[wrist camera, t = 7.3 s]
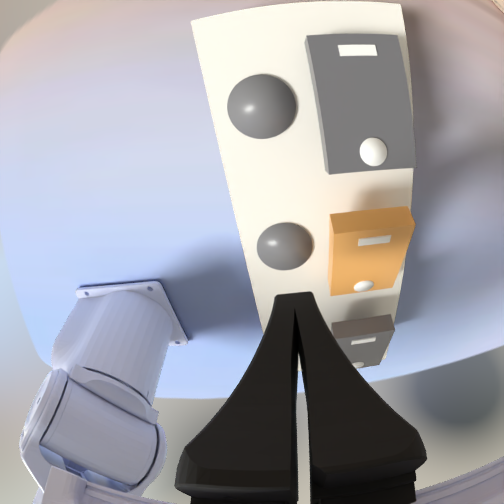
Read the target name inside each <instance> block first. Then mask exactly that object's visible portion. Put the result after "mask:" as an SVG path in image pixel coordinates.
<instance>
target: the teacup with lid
mask: <svg viewBox="0 0 504 504" xmlns="http://www.w3.org/2000/svg"><path fill="white" fill-rule="evenodd" d="M492 1H493V3H494V4H495V5H496V6H497V7H498V8H499V9H500V10H501V11H502V12H503V13H504V0H492Z"/></svg>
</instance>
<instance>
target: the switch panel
mask: <svg viewBox="0 0 504 504" xmlns="http://www.w3.org/2000/svg"><path fill="white" fill-rule="evenodd" d="M191 25H192V29H193V34H194V38H195V43H196V48H197V52H198V56H199V61H200V65H201V70H202V74H203V79H204V83H205V88H206V92H207V97H208V101H209V105H210V110H211V114H212V118H213V123H214V127H215V132H216V136H217V140H218V145H219V149H220V153H221V158H222V162H223V166H224V171H225V175H226V179H227V183H228V188H229V192H230V196H231V201H232V205H233V209H234V213H235V218H236V222H237V226H238V230H239V235H240V239H241V243H242V247H243V251H244V256H245V260H246V264H247V268H248V272H249V277H250V281H251V285H252V289H253V293H254V297H255V301H256V306H257V310H258V314H259V318H260V322H261V326H262V330H263V334H264V332H265V330H266V327H267V324H268V321H269V318H270V315H271V312H272V308H273V303H274V297H275V296H276V295H277V294H287V293H298V292H308V291H311V292H312V293H313V294H314V298H315V300H316V303H317V306H318V308H319V310H320V312H321V314H322V316H323V318H324V320H325V322H326V324H327V326H328V328H329V329H330V331H331V323H332V322H340V321H347V320H355V319H362V318H368V317H375V316H381V315H387V314H391V317H392V320H393V324H394V321H395V316H396V311H397V306H398V301H399V296H400V290H401V284H402V278H403V272H404V265H405V258H406V254H405V257H404V260H403V262H402V265H401V267H400V270H399V273H398V275H397V278H396V280H395V283H394V285H393V287H392V288H387V289H380V290H373V291H366V292H359V293H352V294H344V295H336V296H330V291H329V284H328V260H329V214H334V213H343V212H352V211H362V210H371V209H381V208H391V207H401V206H408V208H409V210H410V212H411V202H412V186H413V168H405V169H390V170H376V171H364V172H352V173H342V174H332V175H329V174H328V173H327V172H326V171H325V166H324V158H323V150H322V143H321V135H320V129H319V122H318V115H317V109H316V103H315V97H314V91H313V85H312V80H311V74H310V69H309V64H308V59H307V54H306V49H305V44H304V42H305V38H306V35H321V34H390V35H398V39H399V43H400V48H401V52H402V57H403V62H404V67H405V72H406V78H407V84H408V90H409V96H410V103H411V110H412V119H413V101H412V85H411V73H410V63H409V55H408V47H407V39H406V33H405V26H404V21H403V15H402V10H401V5H400V4H394V3H382V2H365V1H317V2H300V3H288V4H279V5H270V6H263V7H256V8H249V9H243V10H238V11H233V12H228V13H223V14H218V15H214V16H209V17H205V18H201V19H197V20H193V21H191ZM389 343H390V342H389ZM388 347H389V345H388ZM388 347H387V349H386V351H385V353H384V356H383V358H382V360H383V359H385V358H386V355H387V351H388ZM298 371H302V370H301V364H300V358H299V356H298Z"/></svg>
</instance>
